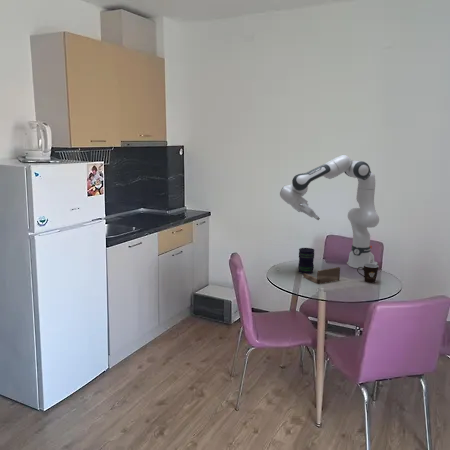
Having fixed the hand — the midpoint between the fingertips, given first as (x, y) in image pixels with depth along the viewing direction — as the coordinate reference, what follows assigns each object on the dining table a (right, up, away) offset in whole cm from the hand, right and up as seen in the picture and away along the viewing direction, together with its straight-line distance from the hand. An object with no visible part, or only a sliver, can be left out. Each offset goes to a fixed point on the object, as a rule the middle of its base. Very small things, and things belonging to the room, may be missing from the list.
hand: (318, 218), depth 278 cm
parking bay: (+1, -37, -2) cm, 37 cm away
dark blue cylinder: (-6, -35, +11) cm, 37 cm away
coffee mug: (+29, -38, -6) cm, 48 cm away
